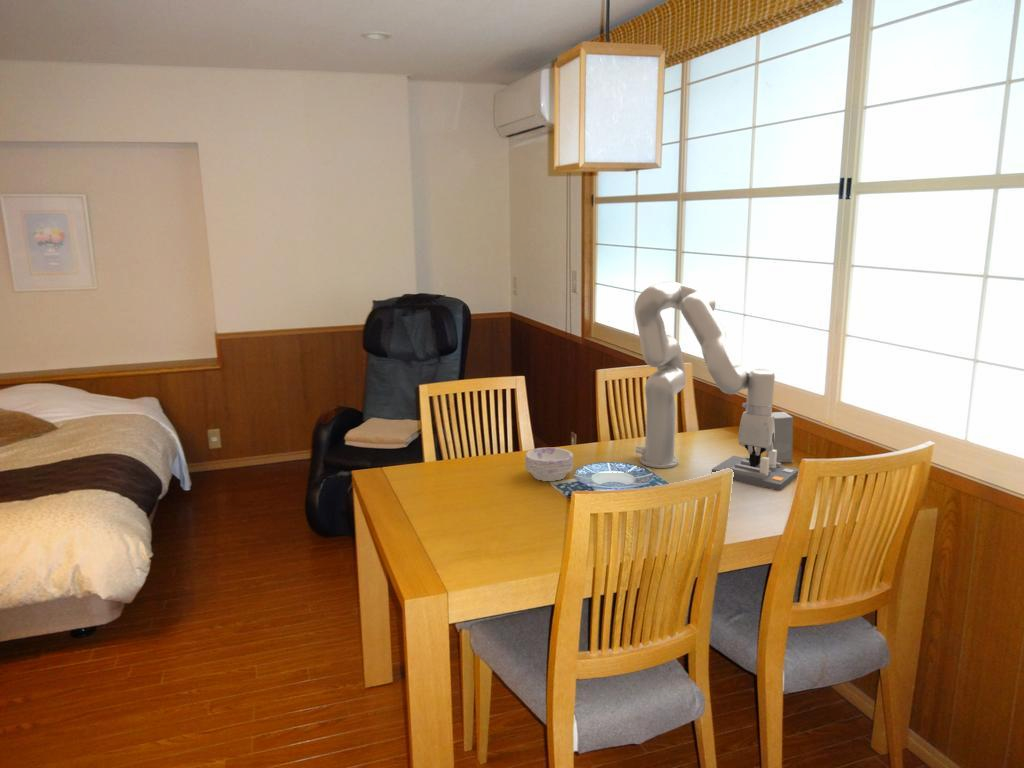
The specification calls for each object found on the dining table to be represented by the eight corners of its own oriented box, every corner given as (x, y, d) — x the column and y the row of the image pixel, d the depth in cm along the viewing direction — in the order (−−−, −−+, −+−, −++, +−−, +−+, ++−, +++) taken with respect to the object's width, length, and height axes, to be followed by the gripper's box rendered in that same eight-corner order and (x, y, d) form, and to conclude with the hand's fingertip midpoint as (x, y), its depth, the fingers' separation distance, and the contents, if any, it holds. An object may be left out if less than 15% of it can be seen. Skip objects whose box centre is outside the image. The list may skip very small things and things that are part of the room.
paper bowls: (552, 465, 247) (552, 443, 245) (582, 478, 235) (583, 454, 233) (515, 475, 238) (515, 452, 237) (545, 489, 226) (545, 464, 225)
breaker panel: (711, 475, 237) (711, 465, 236) (733, 461, 250) (733, 452, 249) (779, 490, 224) (780, 480, 223) (798, 475, 236) (799, 465, 236)
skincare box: (792, 463, 248) (796, 417, 244) (771, 463, 248) (774, 417, 244) (784, 454, 256) (787, 410, 252) (763, 455, 256) (766, 410, 252)
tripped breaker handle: (759, 475, 230) (760, 458, 229) (761, 473, 232) (763, 456, 230) (765, 476, 229) (767, 459, 227) (768, 475, 230) (769, 457, 229)
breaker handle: (767, 467, 237) (768, 450, 236) (769, 465, 239) (770, 448, 238) (773, 468, 236) (774, 451, 235) (775, 466, 238) (777, 450, 236)
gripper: (730, 407, 229) (726, 463, 233) (778, 416, 220) (773, 474, 224) (740, 403, 235) (736, 457, 239) (787, 411, 226) (782, 467, 230)
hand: (754, 465), depth 232 cm, fingers closed
